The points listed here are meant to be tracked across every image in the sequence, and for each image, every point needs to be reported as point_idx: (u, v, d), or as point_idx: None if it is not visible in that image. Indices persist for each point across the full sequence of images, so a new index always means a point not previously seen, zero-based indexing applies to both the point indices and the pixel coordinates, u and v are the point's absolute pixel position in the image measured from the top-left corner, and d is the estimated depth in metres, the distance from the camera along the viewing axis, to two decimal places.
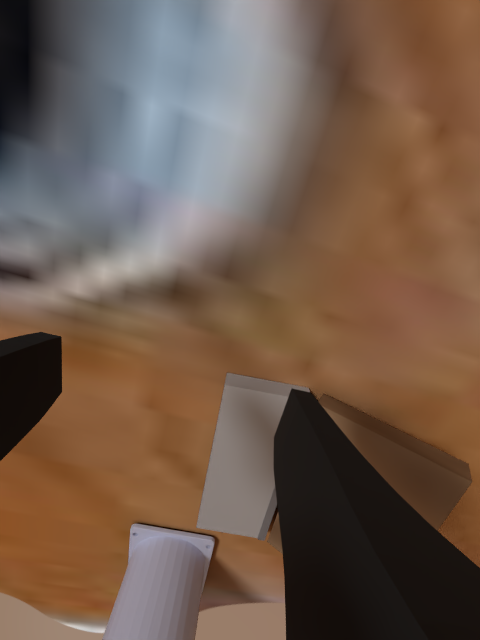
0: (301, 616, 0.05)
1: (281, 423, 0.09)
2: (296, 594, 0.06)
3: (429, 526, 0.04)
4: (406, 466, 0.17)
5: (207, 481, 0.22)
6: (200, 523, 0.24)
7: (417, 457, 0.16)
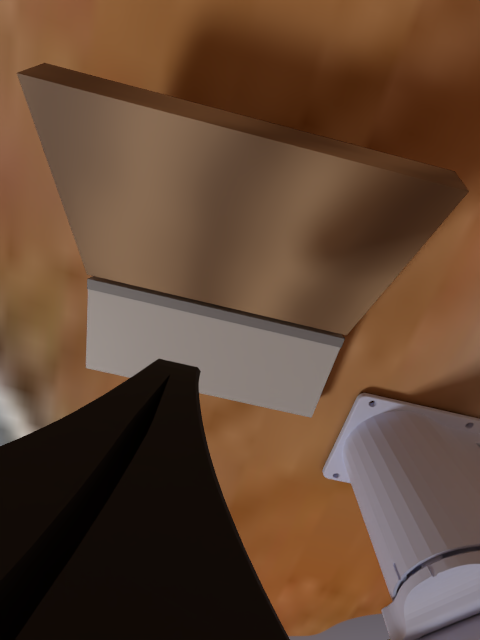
0: None
1: None
2: None
3: (210, 481, 0.04)
4: (76, 171, 0.11)
5: (226, 397, 0.18)
6: (303, 412, 0.19)
7: (52, 159, 0.11)
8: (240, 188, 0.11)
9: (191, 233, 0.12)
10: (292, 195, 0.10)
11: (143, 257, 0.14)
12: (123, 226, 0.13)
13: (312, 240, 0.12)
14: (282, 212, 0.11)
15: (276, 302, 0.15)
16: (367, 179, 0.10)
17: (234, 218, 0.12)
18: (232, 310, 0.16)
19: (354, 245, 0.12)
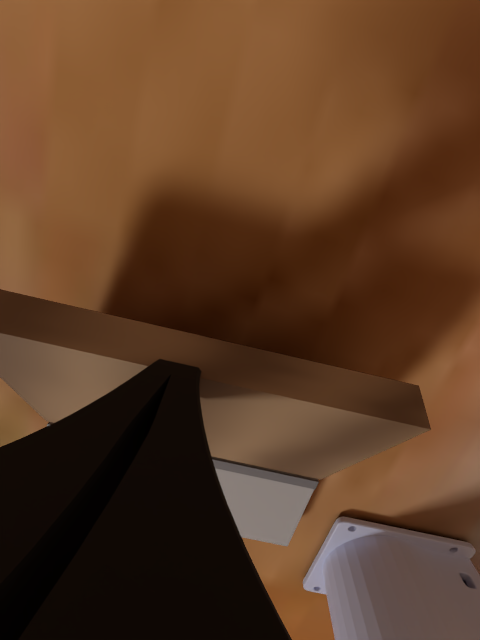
0: None
1: None
2: None
3: (211, 481, 0.04)
4: (18, 372, 0.10)
5: None
6: (278, 541, 0.18)
7: None
8: None
9: None
10: (246, 409, 0.10)
11: None
12: (75, 403, 0.12)
13: (272, 432, 0.11)
14: (238, 416, 0.10)
15: (244, 456, 0.14)
16: (322, 411, 0.09)
17: None
18: None
19: (316, 440, 0.11)
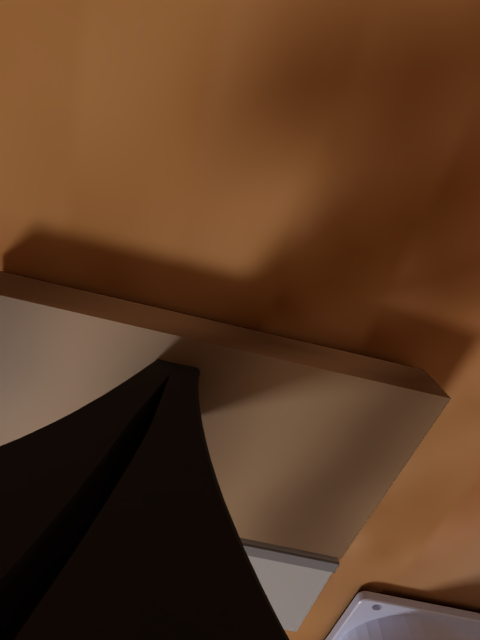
0: None
1: None
2: None
3: (209, 481, 0.04)
4: None
5: None
6: (285, 626, 0.14)
7: None
8: None
9: None
10: (253, 399, 0.09)
11: None
12: None
13: (282, 445, 0.09)
14: (243, 416, 0.09)
15: (243, 518, 0.11)
16: (337, 385, 0.08)
17: None
18: None
19: (333, 451, 0.09)
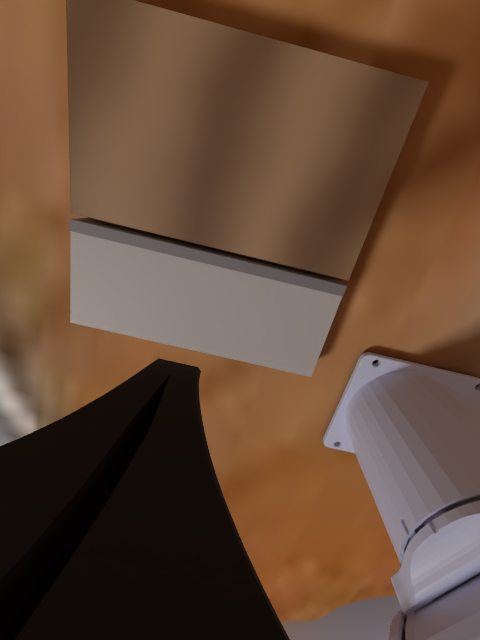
0: None
1: None
2: None
3: (210, 481, 0.04)
4: (92, 76, 0.12)
5: (220, 354, 0.17)
6: (302, 371, 0.17)
7: (72, 64, 0.12)
8: (241, 88, 0.12)
9: (192, 144, 0.13)
10: (287, 93, 0.12)
11: (138, 181, 0.14)
12: (125, 140, 0.13)
13: (306, 144, 0.13)
14: (278, 113, 0.12)
15: (273, 235, 0.14)
16: (348, 73, 0.12)
17: (235, 123, 0.13)
18: (226, 255, 0.15)
19: (344, 148, 0.13)
